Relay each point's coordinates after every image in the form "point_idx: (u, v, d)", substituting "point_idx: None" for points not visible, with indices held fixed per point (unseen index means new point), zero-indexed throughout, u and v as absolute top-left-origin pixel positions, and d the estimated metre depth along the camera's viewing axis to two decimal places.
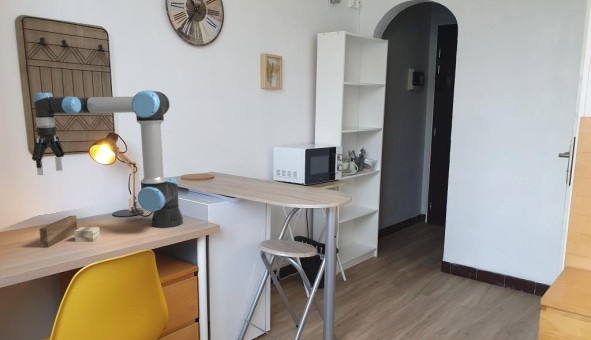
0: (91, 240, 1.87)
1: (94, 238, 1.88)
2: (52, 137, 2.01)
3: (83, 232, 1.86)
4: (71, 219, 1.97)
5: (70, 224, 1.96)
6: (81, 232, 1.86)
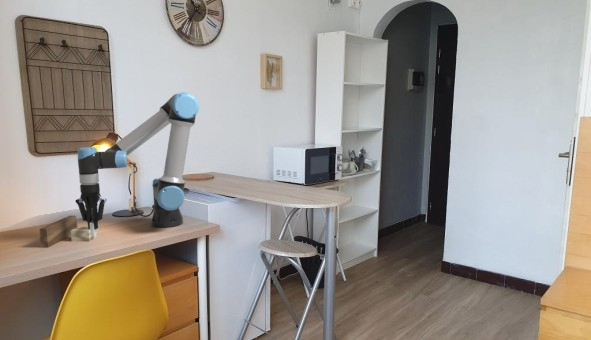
0: (87, 240, 1.87)
1: (90, 238, 1.88)
2: (95, 194, 1.86)
3: (79, 232, 1.87)
4: (71, 219, 1.97)
5: (70, 224, 1.96)
6: (77, 232, 1.87)
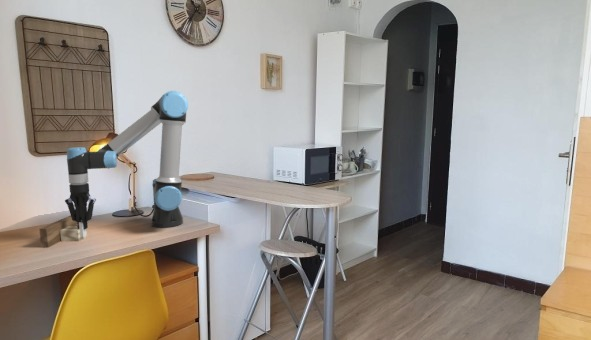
0: (77, 239, 1.87)
1: (80, 237, 1.89)
2: (85, 194, 1.86)
3: (69, 231, 1.87)
4: (71, 219, 1.97)
5: (70, 224, 1.96)
6: (67, 231, 1.87)
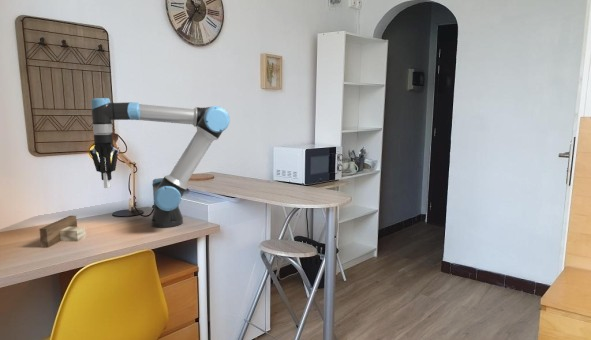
0: (76, 240, 1.87)
1: (79, 238, 1.88)
2: (109, 144, 1.87)
3: (68, 232, 1.87)
4: (71, 219, 1.97)
5: (70, 224, 1.96)
6: (66, 232, 1.87)
